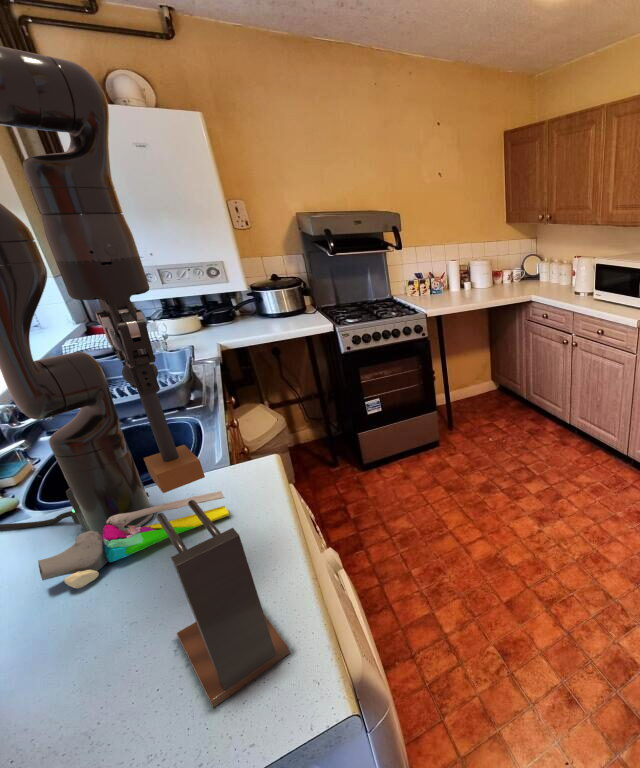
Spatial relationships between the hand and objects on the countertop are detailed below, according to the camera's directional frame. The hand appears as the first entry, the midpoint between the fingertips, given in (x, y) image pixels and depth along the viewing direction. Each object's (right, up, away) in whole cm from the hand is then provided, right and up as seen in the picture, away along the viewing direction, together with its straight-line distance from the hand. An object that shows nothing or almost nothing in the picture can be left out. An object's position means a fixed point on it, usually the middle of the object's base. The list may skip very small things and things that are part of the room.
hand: (145, 388), depth 58 cm
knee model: (-15, -29, +19) cm, 37 cm away
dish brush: (0, -13, +5) cm, 14 cm away
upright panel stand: (+10, -35, +2) cm, 36 cm away
